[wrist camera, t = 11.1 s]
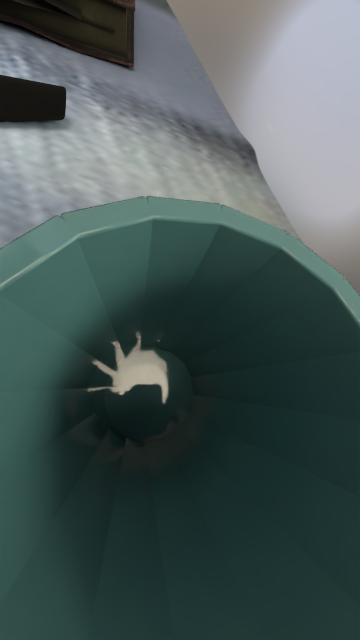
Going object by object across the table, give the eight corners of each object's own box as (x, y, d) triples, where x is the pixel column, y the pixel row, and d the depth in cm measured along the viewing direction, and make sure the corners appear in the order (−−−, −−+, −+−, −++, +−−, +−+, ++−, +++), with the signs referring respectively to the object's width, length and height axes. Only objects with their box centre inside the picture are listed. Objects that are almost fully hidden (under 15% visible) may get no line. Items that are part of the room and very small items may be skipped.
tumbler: (155, 471, 13) (389, 1527, 1) (75, 400, 13) (-487, 532, 1) (214, 383, 16) (470, 373, 4) (146, 325, 16) (176, 141, 4)
